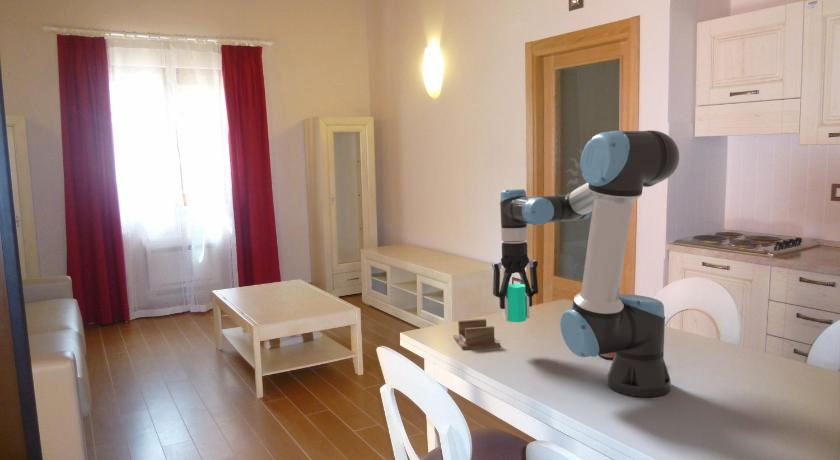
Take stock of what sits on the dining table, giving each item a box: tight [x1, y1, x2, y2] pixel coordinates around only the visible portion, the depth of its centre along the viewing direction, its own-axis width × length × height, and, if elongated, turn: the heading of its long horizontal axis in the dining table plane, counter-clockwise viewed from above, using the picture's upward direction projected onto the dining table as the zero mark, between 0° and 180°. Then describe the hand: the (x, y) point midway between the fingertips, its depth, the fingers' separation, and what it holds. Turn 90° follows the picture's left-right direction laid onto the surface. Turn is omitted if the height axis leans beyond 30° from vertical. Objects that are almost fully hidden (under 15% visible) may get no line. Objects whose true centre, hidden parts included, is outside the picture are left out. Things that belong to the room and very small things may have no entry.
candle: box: [505, 280, 527, 323], centre depth 185 cm, size 6×6×12 cm
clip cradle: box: [453, 318, 501, 350], centre depth 197 cm, size 12×12×6 cm
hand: (516, 318), depth 185 cm, fingers closed on candle, 6 cm apart
